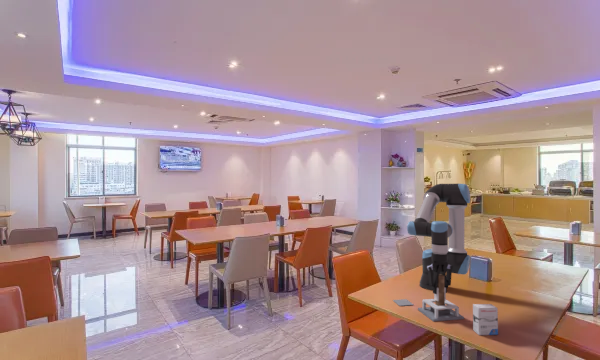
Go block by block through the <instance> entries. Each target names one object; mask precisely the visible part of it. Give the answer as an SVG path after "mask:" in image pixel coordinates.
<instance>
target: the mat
mask: <svg viewBox="0 0 600 360" xmlns="http://www.w3.org/2000/svg"><path fill="white" fill-rule="evenodd" d="M392 301H393V302H394V303H395V304H396V305H397V306H399V307H407V306H408V307H409V306H414V303H412V302H411V301H409V299H408V298H405V299H404V298H403V299H393V300H392Z"/></svg>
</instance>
